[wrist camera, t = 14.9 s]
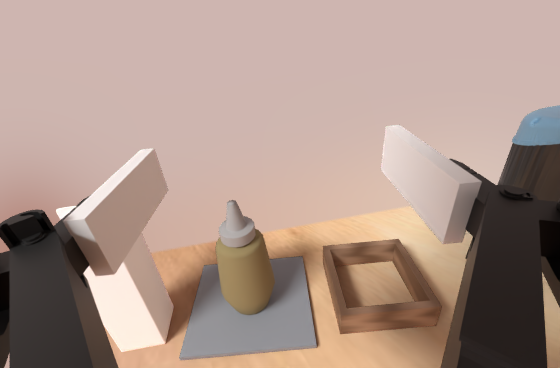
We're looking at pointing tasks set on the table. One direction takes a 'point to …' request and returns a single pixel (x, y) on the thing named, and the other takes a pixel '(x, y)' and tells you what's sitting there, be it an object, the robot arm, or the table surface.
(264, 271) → the squeeze bottle
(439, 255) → the table surface
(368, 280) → the table surface
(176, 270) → the table surface
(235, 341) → the slate mat
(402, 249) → the walnut tray
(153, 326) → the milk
